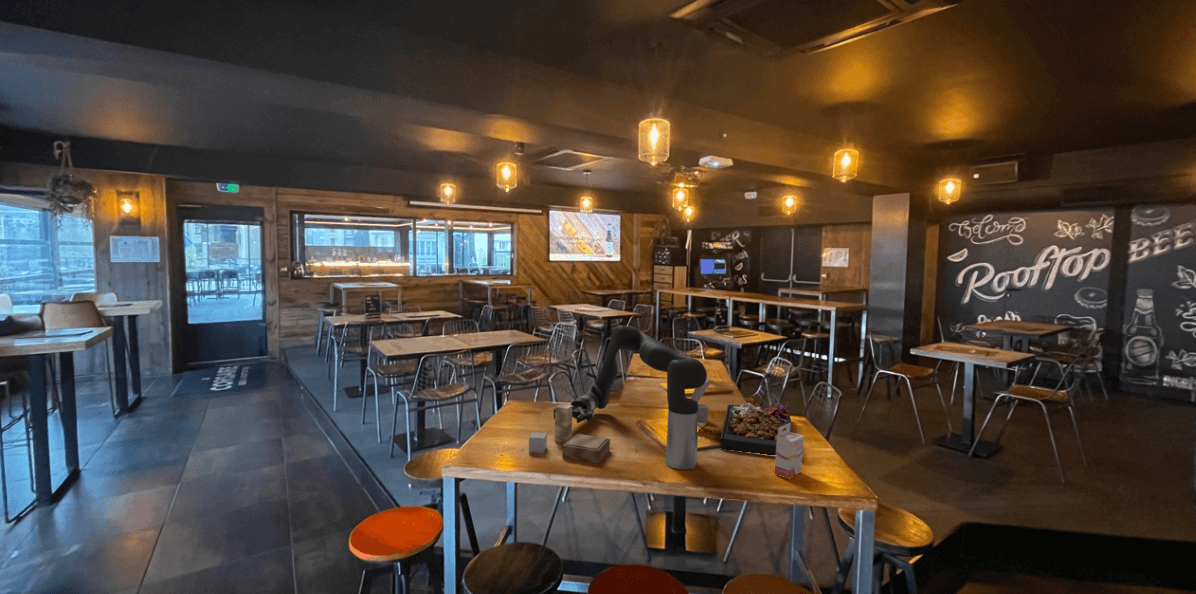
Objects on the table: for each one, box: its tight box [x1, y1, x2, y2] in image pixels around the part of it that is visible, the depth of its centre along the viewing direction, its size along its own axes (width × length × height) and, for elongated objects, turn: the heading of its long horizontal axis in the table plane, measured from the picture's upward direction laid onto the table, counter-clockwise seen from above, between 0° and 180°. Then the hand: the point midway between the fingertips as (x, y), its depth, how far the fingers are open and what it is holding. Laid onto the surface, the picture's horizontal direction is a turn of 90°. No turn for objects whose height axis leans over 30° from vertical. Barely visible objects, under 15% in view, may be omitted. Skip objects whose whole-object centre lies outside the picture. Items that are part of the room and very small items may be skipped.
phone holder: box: [690, 376, 712, 428], centre depth 202 cm, size 17×10×18 cm, turn 153°
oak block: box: [554, 403, 573, 444], centre depth 180 cm, size 4×4×12 cm
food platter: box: [719, 401, 794, 455], centre depth 194 cm, size 45×25×10 cm, turn 163°
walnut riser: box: [561, 433, 611, 464], centre depth 168 cm, size 12×12×4 cm
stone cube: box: [528, 431, 548, 454], centre depth 170 cm, size 5×5×5 cm
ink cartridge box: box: [774, 422, 805, 479], centre depth 157 cm, size 9×5×15 cm, turn 134°
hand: (566, 418), depth 182 cm, fingers open, 8 cm apart
